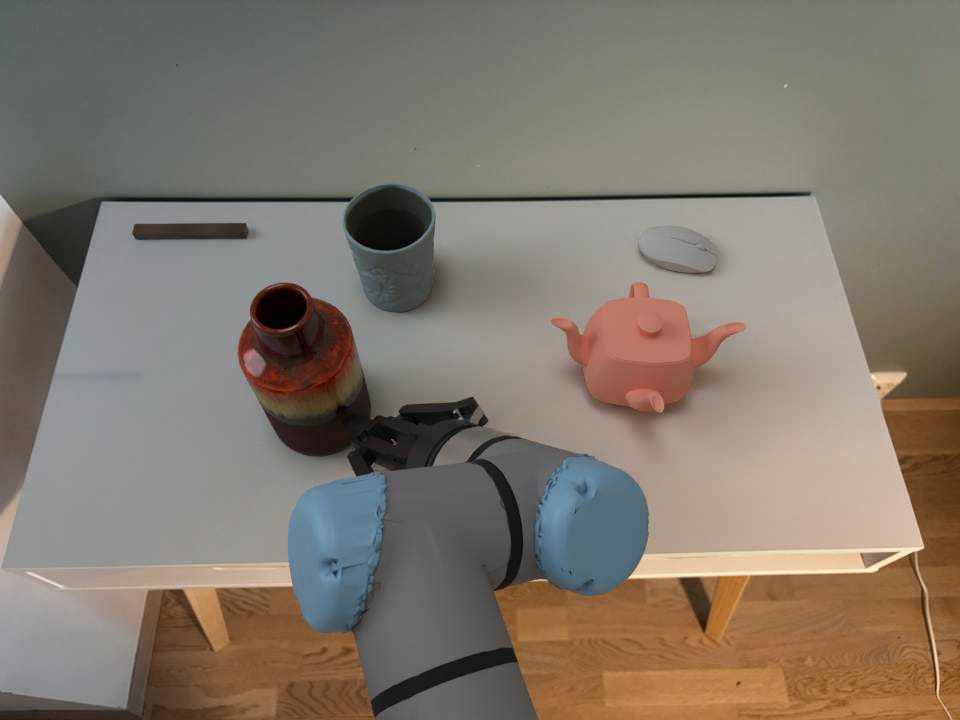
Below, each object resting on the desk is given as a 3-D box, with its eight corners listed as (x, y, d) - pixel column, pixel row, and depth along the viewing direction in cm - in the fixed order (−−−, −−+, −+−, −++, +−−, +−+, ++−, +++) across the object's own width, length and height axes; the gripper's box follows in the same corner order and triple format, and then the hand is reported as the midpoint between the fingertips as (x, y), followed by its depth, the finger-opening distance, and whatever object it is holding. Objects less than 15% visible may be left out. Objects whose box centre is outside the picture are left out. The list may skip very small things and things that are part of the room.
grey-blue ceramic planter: (363, 323, 87) (349, 260, 76) (351, 257, 92) (335, 189, 81) (447, 307, 88) (444, 243, 78) (430, 243, 93) (425, 174, 82)
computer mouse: (713, 280, 90) (720, 265, 88) (633, 265, 91) (638, 250, 89) (716, 243, 93) (723, 228, 91) (638, 230, 94) (643, 214, 92)
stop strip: (248, 228, 94) (245, 222, 93) (246, 238, 93) (244, 232, 92) (138, 229, 93) (134, 223, 92) (135, 239, 93) (131, 233, 92)
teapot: (718, 374, 84) (750, 322, 74) (638, 455, 79) (662, 410, 69) (621, 299, 89) (639, 241, 79) (540, 370, 84) (549, 317, 74)
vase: (269, 378, 83) (215, 267, 65) (364, 361, 84) (336, 248, 66) (276, 465, 77) (219, 370, 60) (377, 446, 79) (350, 348, 61)
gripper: (434, 576, 52) (326, 498, 73) (555, 455, 57) (422, 413, 77) (376, 501, 50) (280, 442, 70) (508, 380, 54) (382, 358, 75)
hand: (355, 427), depth 74 cm, fingers closed
